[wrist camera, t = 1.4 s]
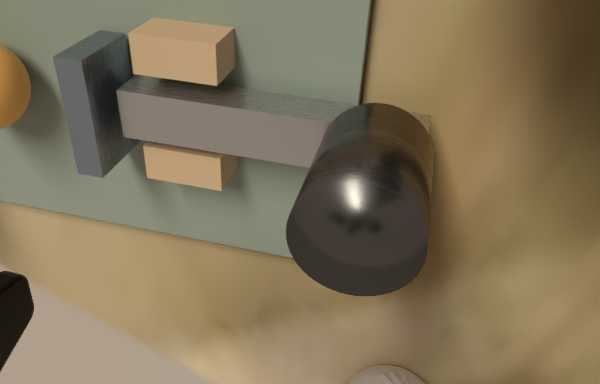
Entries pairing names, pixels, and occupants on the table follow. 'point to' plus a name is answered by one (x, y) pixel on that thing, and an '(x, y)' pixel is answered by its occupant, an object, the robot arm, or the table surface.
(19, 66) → the ball
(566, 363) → the table surface
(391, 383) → the grey rock
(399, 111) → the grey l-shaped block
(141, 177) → the pitch
